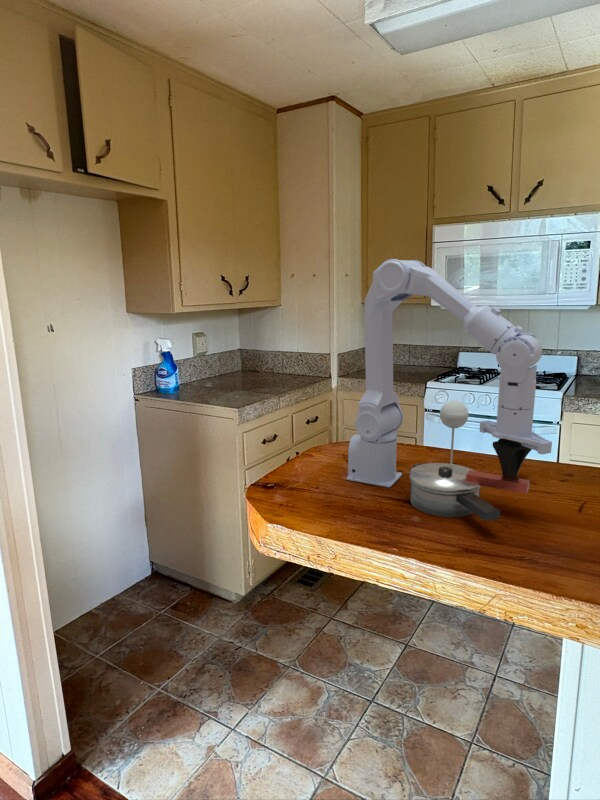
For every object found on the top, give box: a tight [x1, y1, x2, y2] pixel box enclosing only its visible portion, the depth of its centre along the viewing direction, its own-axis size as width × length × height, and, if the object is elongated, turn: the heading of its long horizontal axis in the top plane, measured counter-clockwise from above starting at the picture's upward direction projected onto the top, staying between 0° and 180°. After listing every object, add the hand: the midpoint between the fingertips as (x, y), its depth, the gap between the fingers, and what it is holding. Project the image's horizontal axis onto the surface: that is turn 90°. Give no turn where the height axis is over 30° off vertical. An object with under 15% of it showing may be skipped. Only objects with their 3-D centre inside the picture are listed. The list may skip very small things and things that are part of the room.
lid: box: [409, 462, 530, 495], centre depth 94 cm, size 20×13×2 cm, turn 59°
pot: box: [409, 462, 501, 522], centre depth 95 cm, size 18×18×5 cm
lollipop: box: [439, 400, 470, 464], centre depth 113 cm, size 6×6×15 cm
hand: (509, 481), depth 93 cm, fingers closed, pressing on lid
